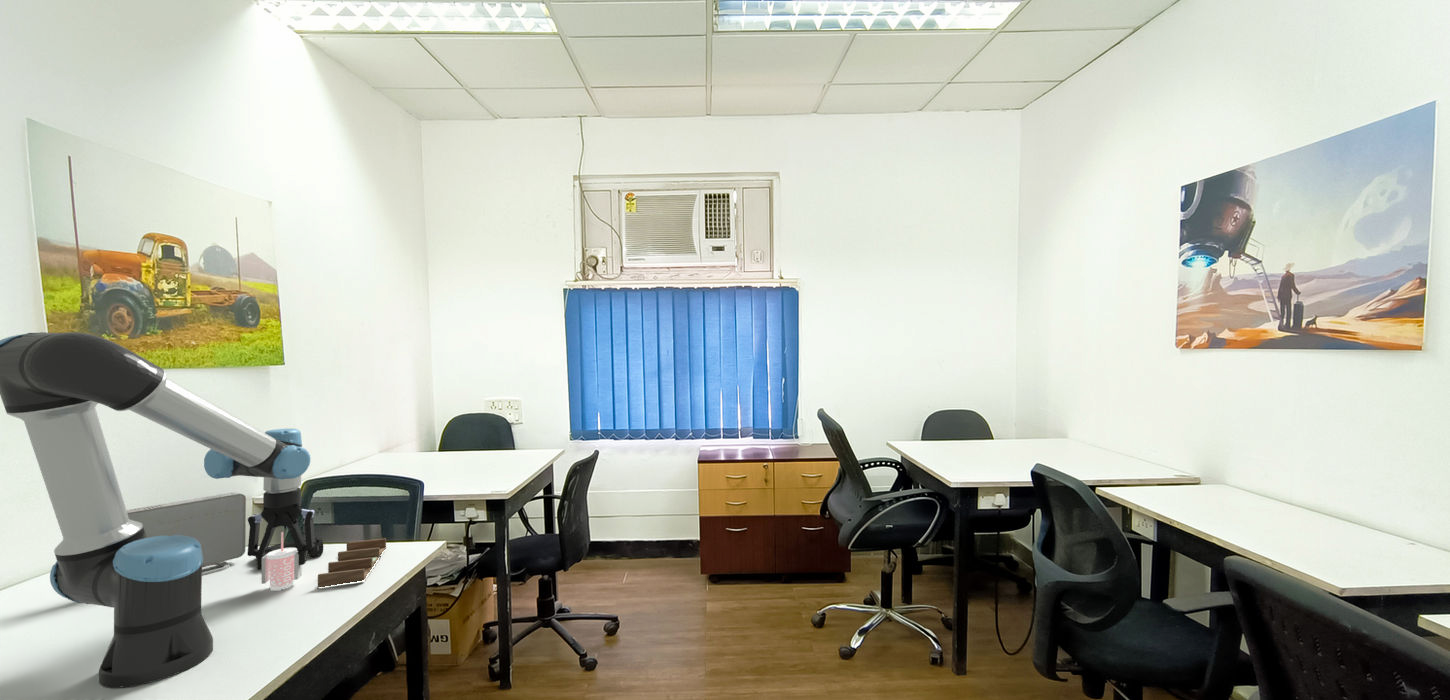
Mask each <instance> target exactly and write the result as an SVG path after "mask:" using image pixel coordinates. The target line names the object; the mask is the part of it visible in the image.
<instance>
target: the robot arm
mask: <svg viewBox="0 0 1450 700" xmlns="http://www.w3.org/2000/svg"><path fill="white" fill-rule="evenodd" d="M0 399H1V402H2V404H3V406H4V409H5V412H6V414H7V415H9V416H12V417H15V418H17V419H19V420H21V421H23V422H24V425H25V428H26V432H27V435H28V437H29V440H30V443H31V446H32V450H33V453H34V455H35V458H36V461H37V464H38V468H39V470H40V473H41V476H42V480H43V481H44V484H45V488H46V492H47V495H48V497H49V499H50V503H51V506H52V509H53V511H54V515H55V518H56V520H57V523H58V527H59V529H60V532H61V535H62V540H61V542H60V543H58V544H57V546H55V548H54V550H53V552H54V555H55V559H56V562H55V563H54V564H53V565H52V567H51V570H50V574H49V581H50V584H51V587H52V589H53V591H55V593H56V594H58V595H59V596H61V597H63V598H64V599H67V600H69V601H72V602H74V603H77V604H85V605H95V606H103V607H108V608H113V636H112V638H111V641H110V643H109V646H108V648H107V650H106V652H105V655H104V657H103V660H102V662H101V664H100V666H99V669H98V683H99V685H100V686H102V687H105V688H114V689H115V688H117V689H118V688H128V687H133V686H135V687H136V686H139V685H143V684H149V683H152V682H156V681H159V680H162V679H165V678H168V676H169V677H171V676H174V675H177V674H179V673H181V672H184V671H186V670H189V669H190V668H193V667H194V666H196V665H197V664H199V663H201V662H203V661H204V660H205V659H207V658H208V657H209V656H210V655H211V654H212V652H213V651H214V637H213V635H212V632H211V630H210V629H209V626H208V625H207V623H206V620H205V618H204V617H203V614H202V592H203V591H202V586H203V584H202V583H203V582H202V581H203V580H202V579H203V576H202V572H203V567H202V562H203V555H202V550H201V544H200V542H199V541H198V540H196V539H195V538H192V537H189V536H183V535H173V536H167V535H165V536H155V537H149V538H147V537H146V534H145V531H144V528H143V525H142V523H140V522H137V521H133V520H130V519H129V517H128V514H127V511H126V510H127V508H126V504H125V501H124V499H123V494H122V491H121V489H120V488H121V487H120V485H119V483H118V482H119V481H118V478H117V474H116V472H115V469H114V466H113V462H112V459H111V456H110V452H109V449H108V446H107V442H106V439H105V436H104V433H103V428H102V426H101V423H100V420H99V416H98V414H97V410H96V407H97V405H98V404H100V405H103V406H105V407H108V408H110V409H111V410H114V411H117V412H125V411H131V412H132V413H135V414H136V415H139V416H141V417H143V418H146V419H147V420H150V421H152V422H154V423H156V424H158V425H160V426H162V427H165V428H167V429H169V430H171V431H172V432H175V433H177V434H179V435H180V436H183V437H185V438H186V439H189V440H191V441H193V442H196V443H197V444H200V445H202V446H204V447H207V449H209V450H208V451H207V452H206V453H205V456H204V459H203V468H204V471H205V473H206V474H207V476H209V477H210V478H212V479H216V480H218V479H219V480H220V479H230V478H231V477H237V476H238V477H239V476H241V477H243V476H244V477H253V478H255V477H256V478H263V488H262V489H263V491H265V492H264V493H263V494H262V495H263V497H262V498H263V500H262V501H263V502H262V503H263V505H262V508H263V509H262V511H261V512H260V513H256V514H255V513H254V514H252V515H251V516H249V517H248V518H247V522H248V525H249V532H248V544H247V556H248V557H255V558H256V557H257V561H256V569H257V570H258V571H261V585H262V584H266V583H267V582H268V581H270V576H269V562H268V559H267V554H266V553H267V549H268V547H269V546H270V544H271V541H272V538H273V536H274V535H275V534H274V533H275V531H276V529H277V528H279V527H287V531H289V533H290V536H291V537H292V541H294V543H295V545H296V548H297V552H296V553H295V554H294V580H295V581H296V580H299V579H300V578H301V577H302V574H303V573H302V571H303V566H304V565H305V564H306V562H307V550H310V549H312V548H313V547H314V546H315V537H316V536H315V525H314V524H315V521H314V517H315V514H316V509H305V508H304V507H303V506H302V488H300V487H301V486H302V475H303V474H305V473H306V471H307V470H308V468H309V467H310V464H311V454H310V452H309V451H308V450H307V449H306V448H304V447H303V444H302V442H303V441H302V433H301V430H299V429H297V428H278V429H270V430H266V431H265V432H264V431H262V430H261V429H259V428H256V427H255V426H253V425H251V424H250V423H247V422H246V421H244V420H242V419H241V418H239V417H237V416H235V415H233V414H232V413H230V412H228V411H226V410H224V409H222V408H220V407H219V406H217V405H215V404H214V403H211V402H210V401H208V400H207V399H205V398H203V397H201V396H199V395H197V393H194V392H192V391H191V390H189V389H188V388H185V387H183V386H182V385H180V384H178V383H176V382H174V381H173V380H171V379H169V378H167V373H166V371H165V369H164V368H162V367H160V366H158V365H156V364H154V363H153V362H151V361H150V360H148V359H146V358H144V357H143V356H141V355H138V354H137V353H136V352H134V351H131V350H130V349H128V348H126V347H124V346H122V345H120V344H119V343H116V342H114V341H112V340H110V339H107V338H104V337H101V336H98V335H95V334H90V333H86V332H79V331H78V332H73V331H72V332H43V331H41V332H27V333H22V334H16V335H11V336H8V337H5V338H2V339H0ZM301 515H302V518H303V519H304V533H305V534H304V535H305V538H304V536H303V534H302V533H301V531H302V530H301V529H300V526H299V521H298V519H299V517H300V516H301ZM262 519H263V520H264V521H265V522H266V523H267V525H266V527H265V532H264V534H263V537H262V540H261V542H260V545H259V541H260V540H259V539H260V528H261V522H262ZM304 540H306V543H305V541H304ZM265 554H266V555H265Z"/></svg>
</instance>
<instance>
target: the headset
mask: <svg viewBox="0 0 1450 700" xmlns="http://www.w3.org/2000/svg"><path fill="white" fill-rule="evenodd" d="M300 531H301V533H302V535H305V531H303V530H300ZM304 541H305V543H306V539H304ZM283 548H296V545H295V543H294V540H292V541H288V542H287V541H286V542H283ZM278 549H281V543H277V544H274V545H269V547H268V549H267V553H266V554H268V553H269V552H271V551H274V550H278ZM323 553H324V542H323V538H322V537H319V536H315V546H314V547H313V548H312V549H310V550H307V551H306V555H307V556H308V558H311V557H312V558H314V557H318V556H321V555H322V554H323ZM266 554H265V555H266ZM255 562H257V557H255Z"/></svg>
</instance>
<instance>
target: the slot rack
mask: <svg viewBox="0 0 1450 700" xmlns="http://www.w3.org/2000/svg"><path fill="white" fill-rule="evenodd" d="M385 549H386V550H387V538H385V537H384V538H377V539H376V538H374V539H368V540H367V539H366V540H365V539H364V540H358V541H349V542H346V550H343V551H338V552H337V561H331V562H330V561H329V562H328V565H327V566H328V568H327V569H328V570H327V571H328V572H324V573H318V574H317V588H318V587H325V586H331V585H337V584H343V583H350V582H357V581H362V580H364V579H365V578H366V576H367V574H368V573H369V572H370V570H371V569H372V567H373V566H374V564H375V563H376V561H377V560H378V558H379V557H380V555H381V554H382V552H383V551H384V550H385Z"/></svg>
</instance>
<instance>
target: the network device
mask: <svg viewBox="0 0 1450 700" xmlns="http://www.w3.org/2000/svg"><path fill="white" fill-rule="evenodd" d="M246 498H247V497H246V495H245V494H243V493H240V492H237V491H233V492H227V493H221V494H216V495H209V496H204V497H203V496H202V497H197V498H191V499H190V498H189V499H185V500H178V501H173V502H167V503H161V504H156V505H150V506H149V505H148V506H144V507H142V506H141V507H138V508H131V509H126V511H127V514H128V517H129V519H130V520H133V521H137V522H140V523H142V525H143V528H144V531H145V534H146V537H147V538H149V537H155V536H165V535H167V536H173V535H183V536H189V537H192V538H195V539H196V540H198V541H199V542H200V544H201V550H202V555H203V562H202V568H205V567H209V566H213V565H214V566H215V565H219V566H221V567H219V568H214V569H211V570H206V571H202V577H203V576H207V575H211V574H216V573H219V572H222V571H226V570H227V569H229V568H230V567H231V564H230V563H229V562H227V561H231V560H234V559H239V558H241V557H242V556H244V554H245V553H246V540H247V539H246V536H247V535H246V530H247V529H246V526H247V525H246V520H247V519H246V518H247V517H246V515H247V514H246V513H247V511H246V510H247V506H246V504H247V503H246V502H247V499H246Z"/></svg>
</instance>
